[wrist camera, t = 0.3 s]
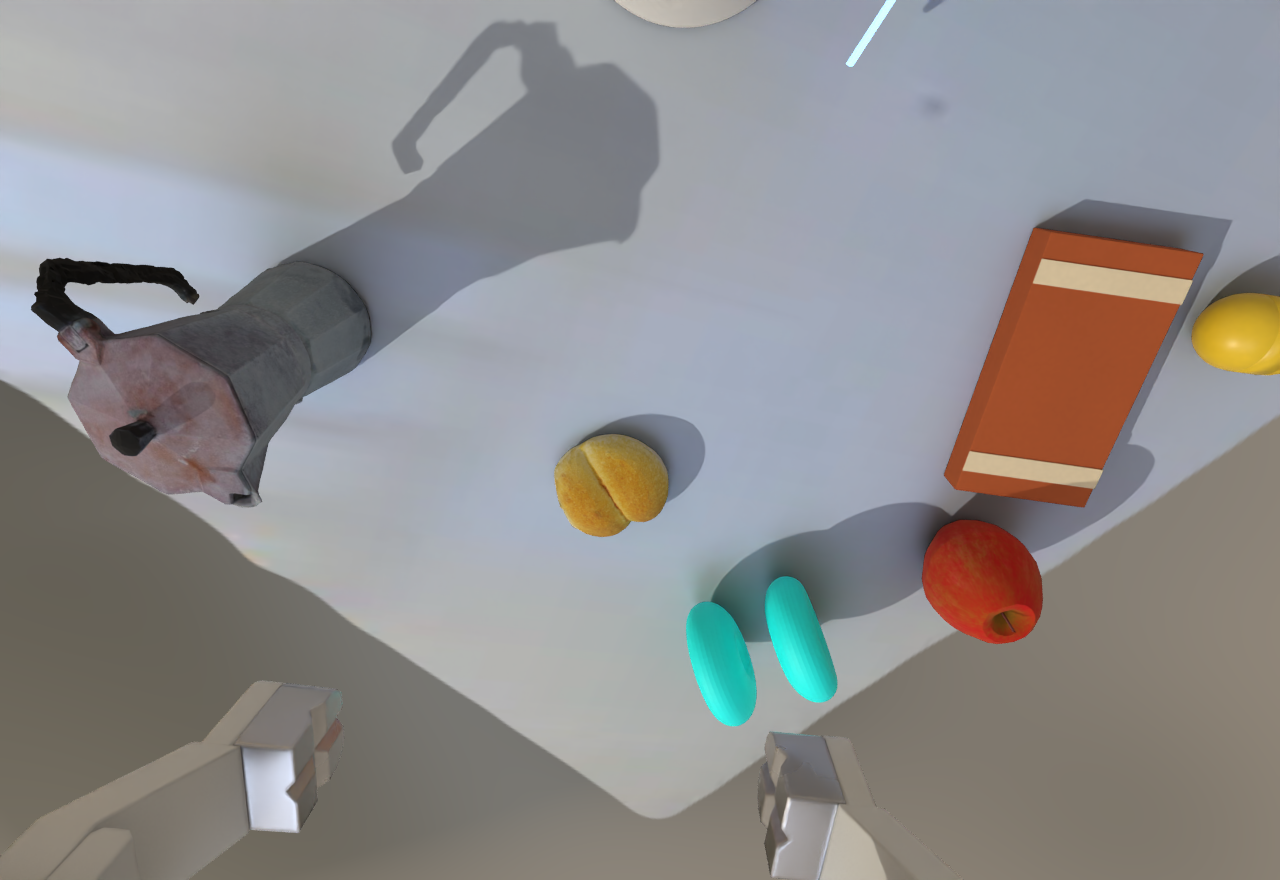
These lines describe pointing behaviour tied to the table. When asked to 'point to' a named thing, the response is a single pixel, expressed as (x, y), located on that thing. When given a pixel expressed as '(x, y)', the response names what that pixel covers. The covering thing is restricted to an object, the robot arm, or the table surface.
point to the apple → (983, 581)
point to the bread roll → (610, 484)
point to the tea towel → (1067, 364)
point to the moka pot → (203, 371)
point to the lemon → (1240, 334)
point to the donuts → (728, 660)
